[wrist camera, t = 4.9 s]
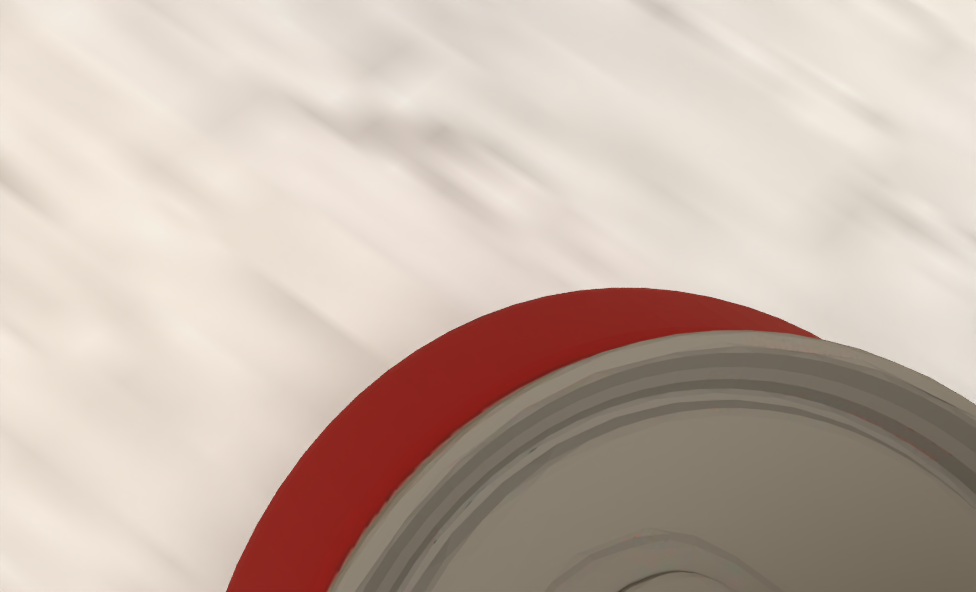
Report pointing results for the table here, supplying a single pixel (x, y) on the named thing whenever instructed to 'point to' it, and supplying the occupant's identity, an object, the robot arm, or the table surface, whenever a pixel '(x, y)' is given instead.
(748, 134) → the table surface
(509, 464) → the beverage can
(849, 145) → the table surface
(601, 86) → the table surface
